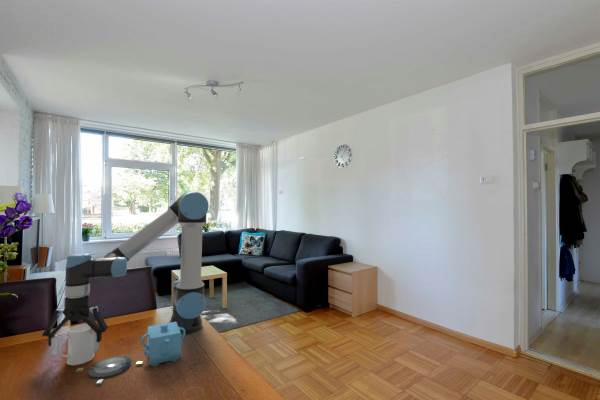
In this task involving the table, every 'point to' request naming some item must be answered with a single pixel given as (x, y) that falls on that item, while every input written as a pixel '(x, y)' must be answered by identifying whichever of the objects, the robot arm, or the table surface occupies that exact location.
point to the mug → (79, 344)
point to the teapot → (163, 343)
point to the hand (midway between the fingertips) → (75, 352)
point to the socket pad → (109, 367)
